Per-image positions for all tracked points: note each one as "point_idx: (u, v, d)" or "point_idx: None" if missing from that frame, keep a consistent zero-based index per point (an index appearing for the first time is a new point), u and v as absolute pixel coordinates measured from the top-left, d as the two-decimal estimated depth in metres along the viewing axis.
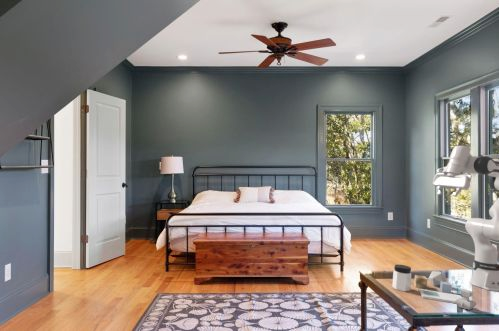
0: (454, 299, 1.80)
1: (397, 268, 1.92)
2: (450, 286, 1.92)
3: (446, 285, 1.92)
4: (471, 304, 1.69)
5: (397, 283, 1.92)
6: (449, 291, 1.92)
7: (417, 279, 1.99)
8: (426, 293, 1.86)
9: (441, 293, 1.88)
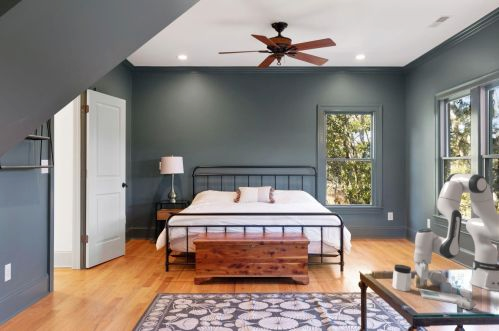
0: (454, 299, 1.80)
1: (397, 268, 1.92)
2: (450, 286, 1.92)
3: (446, 285, 1.92)
4: (471, 304, 1.69)
5: (397, 283, 1.92)
6: (449, 291, 1.92)
7: (417, 279, 1.99)
8: (426, 293, 1.86)
9: (441, 293, 1.88)
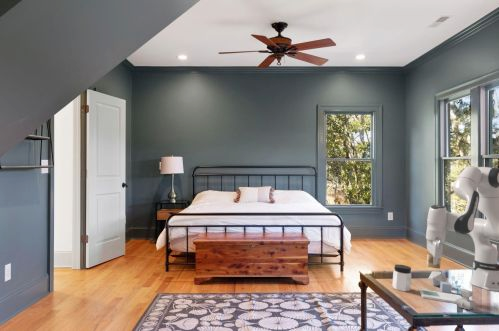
0: (454, 299, 1.80)
1: (397, 268, 1.92)
2: (450, 286, 1.92)
3: (446, 285, 1.92)
4: (471, 304, 1.69)
5: (397, 283, 1.92)
6: (449, 291, 1.92)
7: (430, 258, 1.85)
8: (426, 293, 1.86)
9: (441, 293, 1.88)
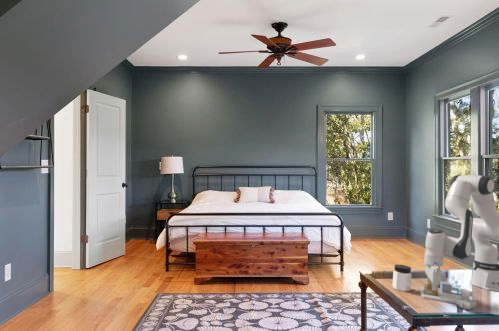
0: (454, 299, 1.80)
1: (397, 268, 1.92)
2: (450, 286, 1.92)
3: (446, 285, 1.92)
4: (471, 304, 1.69)
5: (397, 283, 1.92)
6: (449, 291, 1.92)
7: (428, 285, 1.85)
8: None
9: (441, 293, 1.88)
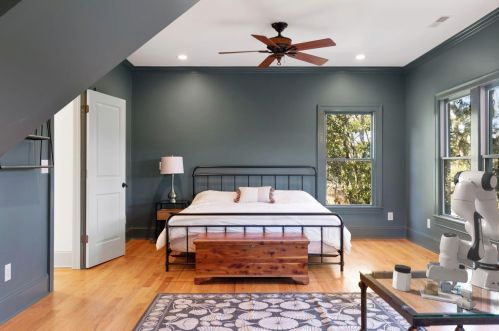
0: (454, 299, 1.80)
1: (397, 268, 1.92)
2: (450, 286, 1.92)
3: (446, 285, 1.92)
4: (471, 304, 1.69)
5: (397, 283, 1.92)
6: (449, 291, 1.92)
7: (428, 285, 1.85)
8: None
9: (441, 293, 1.88)
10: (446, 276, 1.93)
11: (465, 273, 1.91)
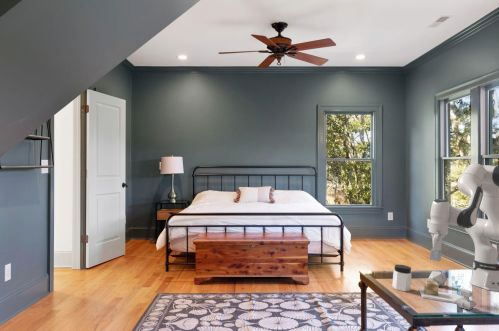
0: (454, 299, 1.80)
1: (397, 268, 1.92)
2: (441, 252, 1.88)
3: (440, 252, 1.87)
4: (471, 304, 1.69)
5: (397, 283, 1.92)
6: (440, 257, 1.88)
7: (428, 285, 1.85)
8: None
9: (441, 293, 1.88)
10: None
11: None
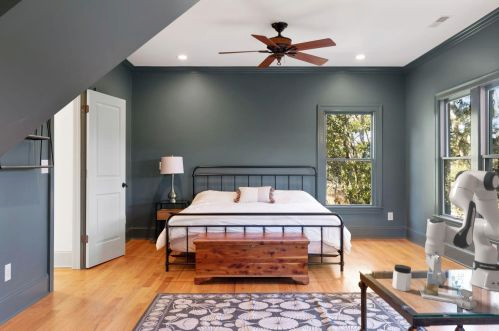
0: (454, 299, 1.80)
1: (397, 268, 1.92)
2: None
3: (437, 275, 1.86)
4: (471, 304, 1.69)
5: (397, 283, 1.92)
6: None
7: (428, 285, 1.85)
8: None
9: (441, 293, 1.88)
10: None
11: None
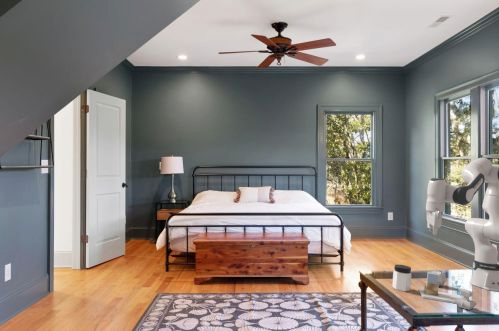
0: (454, 299, 1.80)
1: (397, 268, 1.92)
2: None
3: None
4: (471, 304, 1.69)
5: (397, 283, 1.92)
6: None
7: (428, 285, 1.85)
8: None
9: (441, 293, 1.88)
10: None
11: None
